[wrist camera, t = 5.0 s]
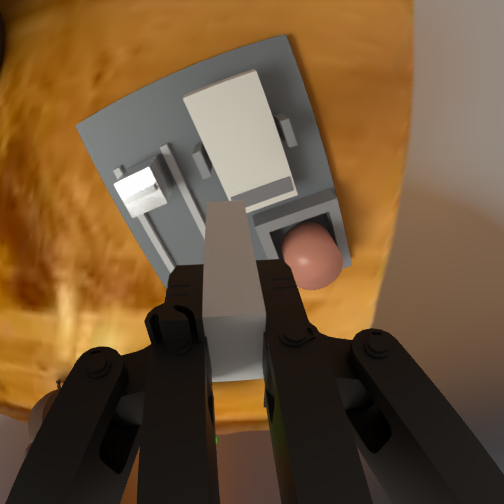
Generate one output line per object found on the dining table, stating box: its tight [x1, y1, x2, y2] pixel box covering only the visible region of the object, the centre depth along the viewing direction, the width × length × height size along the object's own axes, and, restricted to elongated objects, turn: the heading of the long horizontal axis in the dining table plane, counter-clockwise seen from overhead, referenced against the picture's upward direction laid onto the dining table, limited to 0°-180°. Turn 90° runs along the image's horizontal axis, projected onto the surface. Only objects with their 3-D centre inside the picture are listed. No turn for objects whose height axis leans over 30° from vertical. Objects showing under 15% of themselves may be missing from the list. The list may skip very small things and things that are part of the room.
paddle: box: [183, 69, 298, 213], centre depth 22 cm, size 10×5×1 cm, turn 20°
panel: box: [76, 34, 352, 289], centre depth 25 cm, size 22×18×4 cm
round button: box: [281, 222, 343, 290], centre depth 26 cm, size 4×4×3 cm
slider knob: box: [114, 154, 174, 218], centre depth 23 cm, size 3×3×4 cm
